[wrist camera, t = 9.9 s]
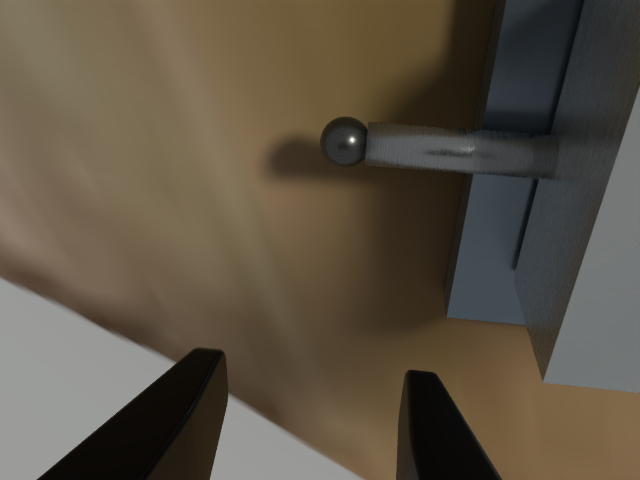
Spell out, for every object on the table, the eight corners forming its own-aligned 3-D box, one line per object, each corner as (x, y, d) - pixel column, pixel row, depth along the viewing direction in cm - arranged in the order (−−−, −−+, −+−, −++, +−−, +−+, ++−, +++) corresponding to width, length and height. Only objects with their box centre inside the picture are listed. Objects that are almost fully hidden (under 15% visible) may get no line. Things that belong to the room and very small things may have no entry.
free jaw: (695, -24, 13) (816, 11, 10) (589, 285, 18) (641, 393, 14) (329, -41, 14) (302, -15, 10) (318, 260, 19) (297, 355, 15)
